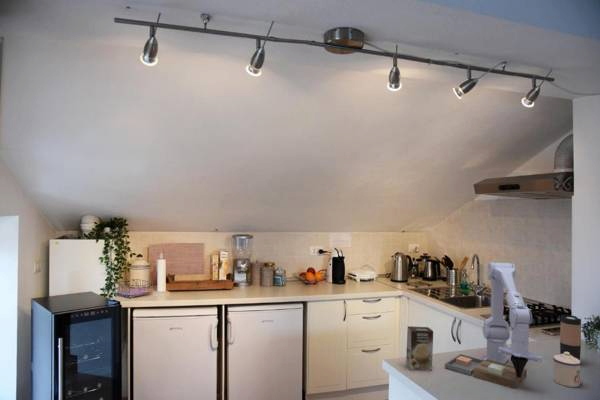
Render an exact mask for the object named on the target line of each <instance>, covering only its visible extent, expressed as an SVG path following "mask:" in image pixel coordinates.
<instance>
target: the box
mask: <svg viewBox="0 0 600 400" xmlns="http://www.w3.org/2000/svg"><path fill="white" fill-rule="evenodd" d="M460 356H463V357H467V358H471V359H472V364H471V365H470V366H468V367H466V366H463V365H459V364H456V358H458V357H460ZM482 362H484V360H483V359H481V358H477V357H473V356H469V355H466V354H462V353H459V354H458V355H456V356H455V357H453V358H451V359H450V360H448V361H447V362H445V363H444V369H446V370H449V371H452V372H456V373H459V374H462V375H466V376H470V377H472V376H473V369H474V368H476V367H477V366H478V365H480V364H481V363H482Z"/></svg>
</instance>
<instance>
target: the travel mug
mask: <svg viewBox="0 0 600 400" xmlns="http://www.w3.org/2000/svg"><path fill="white" fill-rule="evenodd" d="M559 327H560V328H559V329H560V330H559V331H560V332H559V333H560V334H559V335H560V336H559V349H560V350H559V355H560V354H564V352H569V353H570V355H571V356H573V357H574V358H577V359H578V360H580V361H581V348H582V347H581V345H582V318H579V317H577V316H576V315H571V314H561V315H560V326H559Z"/></svg>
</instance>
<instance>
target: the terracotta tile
mask: <svg viewBox="0 0 600 400" xmlns="http://www.w3.org/2000/svg"><path fill="white" fill-rule="evenodd" d="M456 364H459V365H463V366H466V367H468V366H470V365H471V364H472V359H471V358H467V357H463V356H460V357H458V358H456Z"/></svg>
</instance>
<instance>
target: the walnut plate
mask: <svg viewBox="0 0 600 400" xmlns="http://www.w3.org/2000/svg"><path fill="white" fill-rule="evenodd" d="M483 361H484V360H483ZM492 363H493V364H497V365H501V366H504V367H506V372H505V373H504V374H503V375H502V376H501V375H497V374H494V373H490V372H488V366H489V365H491V364H492ZM472 377H473V378H476V379H480V380H483V381H486V382H490V383H493V384H496V385H499V386H502V387H506V388H508V389H512V390H513V389H514V390H515V389H516V388H517V387H518V386H519V385H520V384H521V383H522V382H523V381H524V380H525V379H526V378H527V368H524V370H523V373H522V377H521V378H519V377H516V371H515V368H514V365H513V364H509V363H501V362H498V361H494V360H490V359H486V360H485V361H484V362H482V363H481V364H480V365H478V366H477V367H476V368H474V369H473V375H472Z"/></svg>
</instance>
